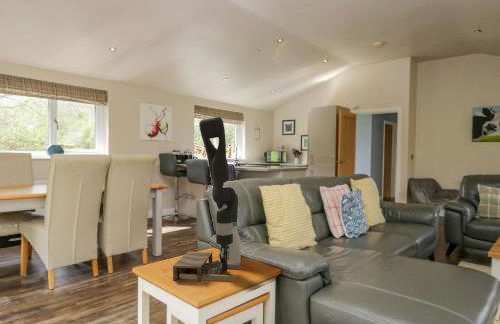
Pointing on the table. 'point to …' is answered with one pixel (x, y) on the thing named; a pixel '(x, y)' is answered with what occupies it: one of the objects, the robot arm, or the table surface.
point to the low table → (199, 267)
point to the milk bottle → (235, 247)
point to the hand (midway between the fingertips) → (224, 271)
